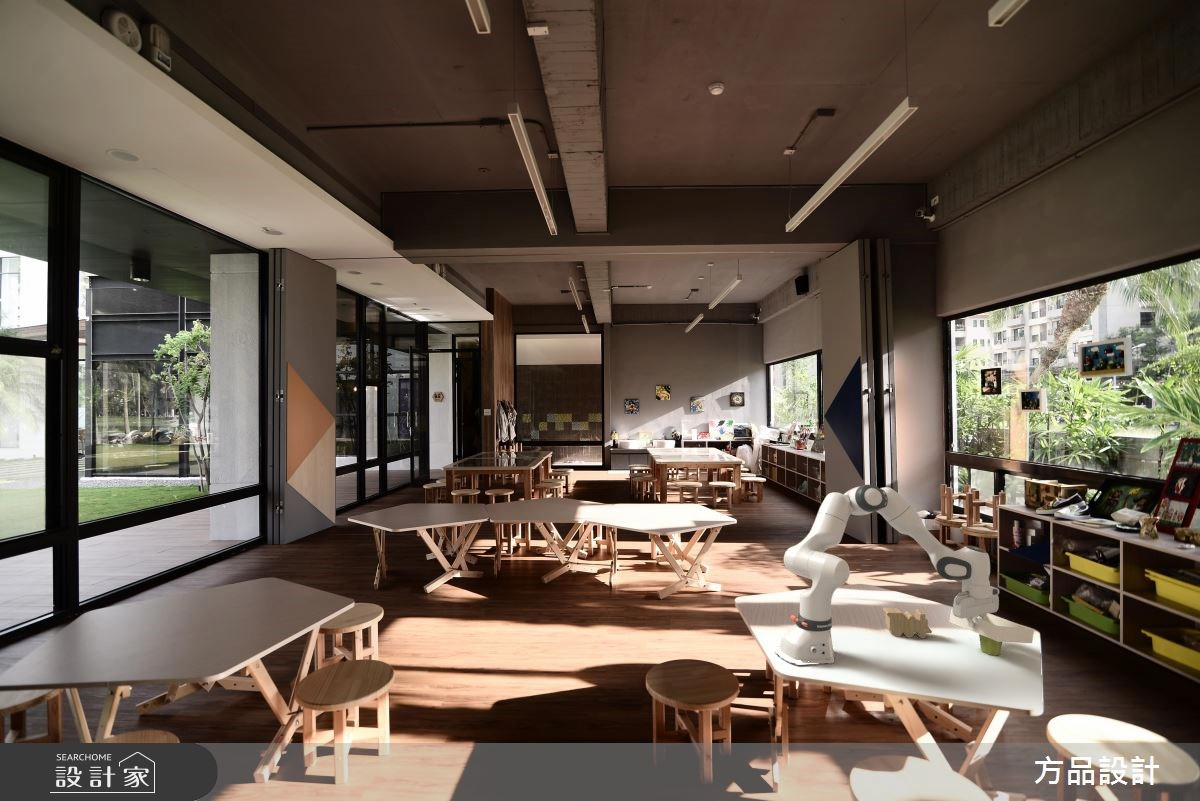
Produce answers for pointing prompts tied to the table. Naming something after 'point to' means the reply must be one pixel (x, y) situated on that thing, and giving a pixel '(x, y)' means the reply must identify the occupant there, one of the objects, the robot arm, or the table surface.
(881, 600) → the table surface
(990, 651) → the plant pot
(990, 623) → the cream open tray
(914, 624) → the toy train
